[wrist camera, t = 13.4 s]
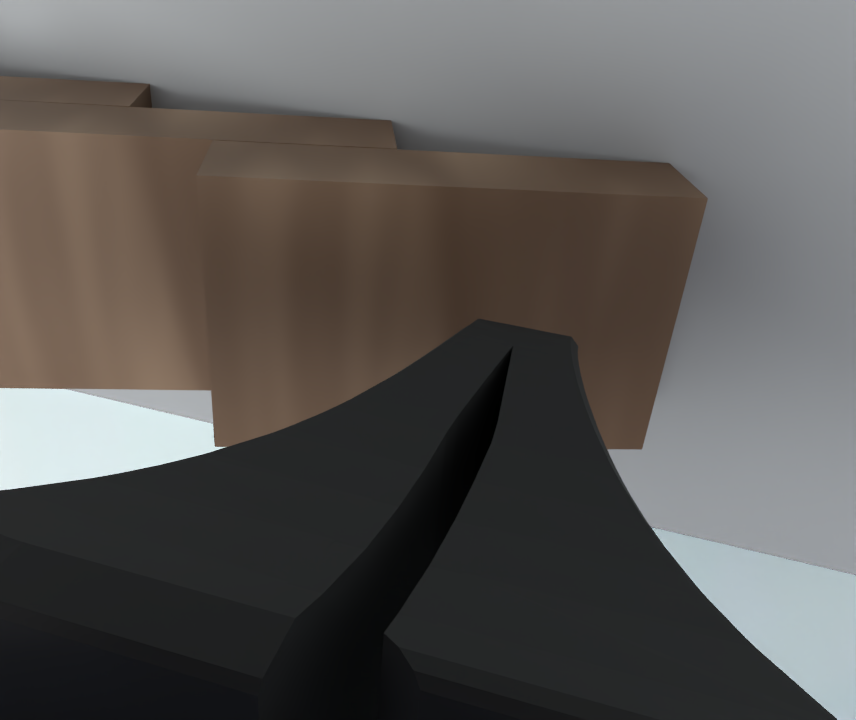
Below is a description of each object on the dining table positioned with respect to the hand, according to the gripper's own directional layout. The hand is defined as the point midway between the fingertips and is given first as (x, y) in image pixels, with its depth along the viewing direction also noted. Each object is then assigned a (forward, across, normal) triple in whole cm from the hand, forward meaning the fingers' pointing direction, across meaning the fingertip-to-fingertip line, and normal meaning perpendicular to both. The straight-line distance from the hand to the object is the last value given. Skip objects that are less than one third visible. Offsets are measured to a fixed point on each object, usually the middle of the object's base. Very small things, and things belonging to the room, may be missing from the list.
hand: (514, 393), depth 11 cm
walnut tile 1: (+3, -2, 0) cm, 4 cm away
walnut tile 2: (+3, +3, 0) cm, 4 cm away
